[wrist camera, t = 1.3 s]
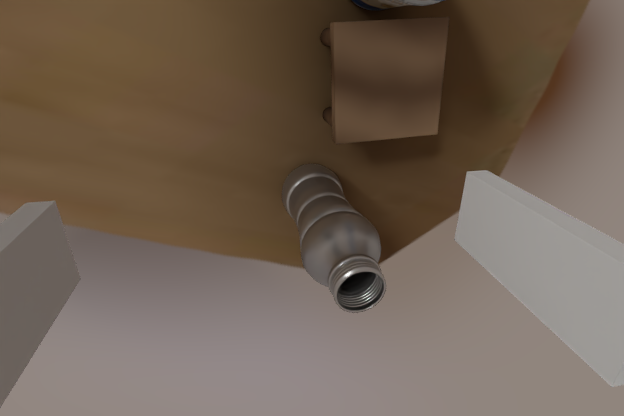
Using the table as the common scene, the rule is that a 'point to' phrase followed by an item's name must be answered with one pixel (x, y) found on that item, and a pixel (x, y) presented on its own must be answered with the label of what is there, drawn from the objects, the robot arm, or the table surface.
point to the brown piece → (385, 78)
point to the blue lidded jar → (391, 3)
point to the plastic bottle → (334, 238)
